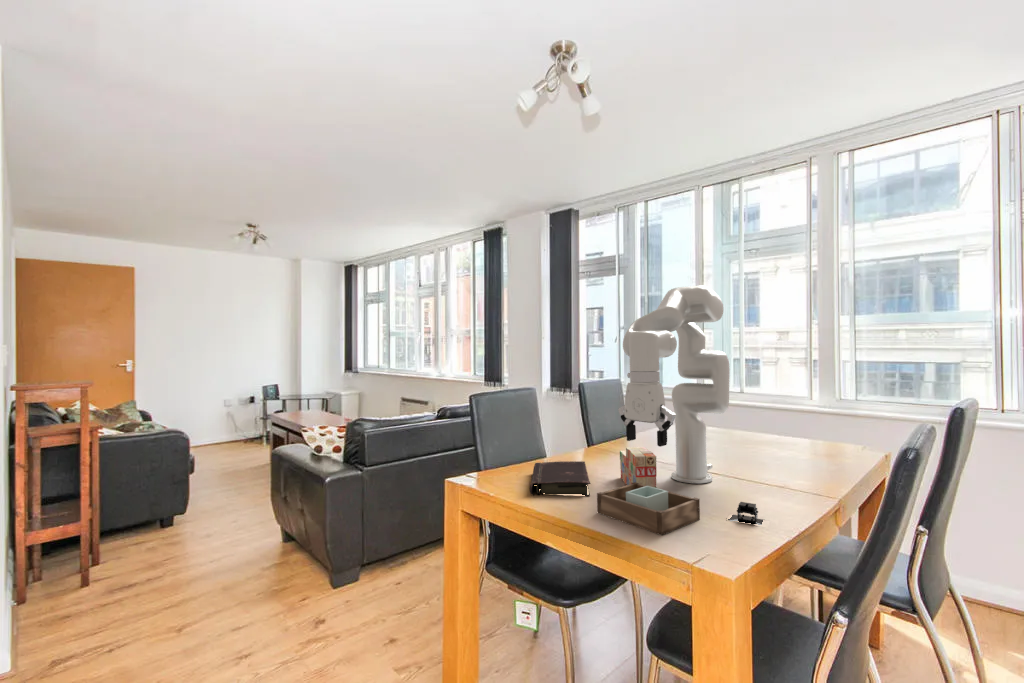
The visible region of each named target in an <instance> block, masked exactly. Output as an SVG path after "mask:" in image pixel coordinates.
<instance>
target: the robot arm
mask: <svg viewBox="0 0 1024 683" xmlns="http://www.w3.org/2000/svg"><path fill="white" fill-rule="evenodd" d="M723 316H724V304H723V301H722V299H721V297H720V296H719V295H718V294H717V293H716V292H715V291H714V290H713V289H712V288H710V287H709V286H706V285H693V286H691V285H690V286H689V285H688V286H680V287H675V288H671V289H670V290H668V291H667V292H666V294H665V295H664V296H663V298H662V301H660V304H659V305H658V307H657V308H656V309H655V310H652V311H651V312H649V313H647V314H645V315H642V316H641V317H639V318H638V319H636V320H634V321H633V322H632V323H631V324H630V326H629V327H628V329H627V331H626V332H625V333H624V337H623V341H622V349H623V351H624V353H625V355H627V356H628V357H629V372H628V373H627V378H629V382H627V384H626V388H625V397H624V405H622V406H620V407H618V409H617V411H618V413H619V416H620V420H622V422H623V425H624V426H625V429H626V431H625V432H626V434H625V435H626V441H627V442H630V441H631V442H632V441H635V440H636V438H637V433H636V432H637V431H636V430H637V427H636V424H634V423H635V422H640V423H641V422H642V423H647V424H648V423H649V424H653V423H654V424H655V426H656V427H657V429H658V430H657V431H656V440H657V441H656V442H657V443H656V444H657V445H656V446H658V447H664V446H667V445H668V430H670V427H671V426H673V425H675V427H674V428H675V431H674V432H675V433H674V434H675V465H676V466H675V467H676V468H675V469H676V470H675V471H673V472H671V478H672V480H675V481H677V482H681V483H686V484H709V483H711V482H712V481H713V477H712V475H711V474H709V473H708V471H709V470H711V469H713V464H711V463H708V462H707V460H708V459H707V426H706V423H705V421H704V420H703V418H702V417H701V415H700V414H701V413H702V414H714V415H715V414H724V413H726V412H727V411H728V409H729V404H730V376H731V375H730V370H731V369H730V361H729V358H728V355H727V354H726V353H725V352H724V351H721V350H706V335H705V333H704V332H703V330H701V328H700V327H699V326H698V325H696V324H698V323H700V324H701V323H715V322H718V321H720V320H721V319H722V318H723ZM674 331H676V333H677V337H678V338H677V339H678V340H677V339H676V336H675V334H674V333H673V332H674ZM677 342H678V343H677ZM677 344H678V345H677ZM677 346H678V348H677ZM677 350H678V351H677ZM675 351H677V352H678V353H677V355H678V356H677V372H678V375H679V376H680V378H684V379H687V380H710V381H712V382H713V383H701V382H684V383H683V382H681V383H679V384H676V385H675V386H674V387H673V388H672V391H671V401H672V406H673V411H671V410H670V409H668V408H667V407H666V400H665V399H666V398H665V392H664V390H663V389H664V388H663V384H662V383H661V382H660V381H661V380H660V379H661V378H660V377H661V376H660V358H663V359H664V358H669V357H671V356H672V355H674V353H675ZM666 417H667V419H666ZM665 419H666V420H665ZM674 423H675V424H674Z"/></svg>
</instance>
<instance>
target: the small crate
mask: <svg viewBox="0 0 1024 683" xmlns="http://www.w3.org/2000/svg"><path fill="white" fill-rule="evenodd" d="M668 492H669V491H668V490H666V489H662V488H658V487H657V488H654V487H650V486H644V487H641V488H638V489H635V490H631V491H628V492H626V501H627V502H630V503H634V504H637V505H640V506H643V507H647V508H650V509H653V510H657V511H659V510H662V511H664V510H667V509H668Z"/></svg>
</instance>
